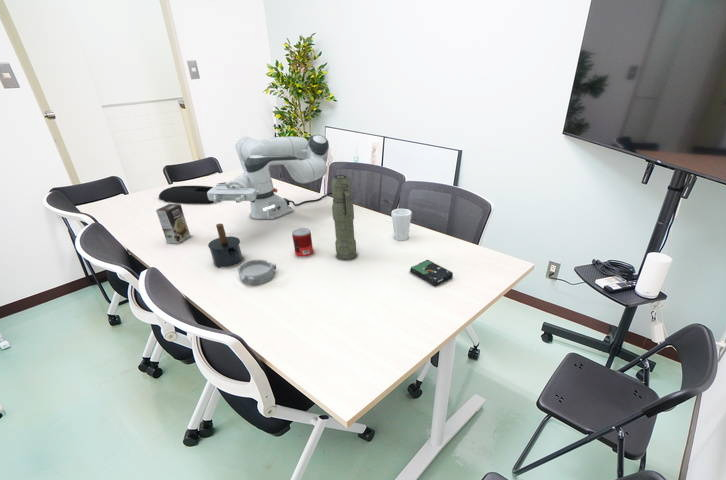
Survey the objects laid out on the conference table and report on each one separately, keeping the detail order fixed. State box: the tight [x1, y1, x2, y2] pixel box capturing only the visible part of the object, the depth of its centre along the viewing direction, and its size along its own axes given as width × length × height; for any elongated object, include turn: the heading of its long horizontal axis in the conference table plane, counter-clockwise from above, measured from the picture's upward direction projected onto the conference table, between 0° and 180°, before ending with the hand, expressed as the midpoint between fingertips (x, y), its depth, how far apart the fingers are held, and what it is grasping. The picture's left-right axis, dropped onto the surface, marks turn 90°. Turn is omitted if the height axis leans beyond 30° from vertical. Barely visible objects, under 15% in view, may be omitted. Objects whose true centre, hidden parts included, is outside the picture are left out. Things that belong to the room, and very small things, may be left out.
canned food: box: [291, 227, 314, 258], centre depth 171 cm, size 8×8×11 cm
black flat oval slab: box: [158, 185, 221, 205], centre depth 234 cm, size 25×40×5 cm, turn 82°
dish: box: [237, 259, 277, 286], centre depth 155 cm, size 14×14×5 cm
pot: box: [209, 244, 244, 269], centre depth 165 cm, size 11×17×8 cm
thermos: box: [331, 174, 357, 261], centre depth 163 cm, size 9×12×35 cm
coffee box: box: [155, 203, 191, 245], centre depth 181 cm, size 9×6×16 cm
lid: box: [207, 223, 241, 250], centre depth 161 cm, size 12×12×9 cm
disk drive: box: [409, 259, 454, 287], centre depth 158 cm, size 10×3×15 cm
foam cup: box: [390, 208, 413, 241], centre depth 186 cm, size 10×9×13 cm
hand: (226, 200), depth 165 cm, fingers open, 8 cm apart
